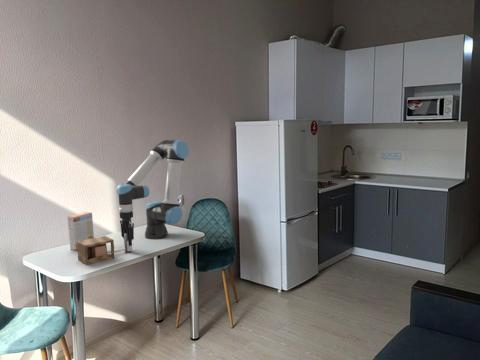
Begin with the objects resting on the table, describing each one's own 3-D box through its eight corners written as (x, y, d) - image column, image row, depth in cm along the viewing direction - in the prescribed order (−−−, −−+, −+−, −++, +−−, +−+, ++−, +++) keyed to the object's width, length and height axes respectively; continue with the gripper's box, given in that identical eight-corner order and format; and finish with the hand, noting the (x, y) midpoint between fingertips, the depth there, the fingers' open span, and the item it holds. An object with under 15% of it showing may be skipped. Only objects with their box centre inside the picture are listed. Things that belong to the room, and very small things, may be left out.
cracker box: (88, 243, 267) (86, 211, 264) (94, 244, 264) (92, 212, 261) (69, 249, 255) (66, 215, 252) (76, 250, 252) (73, 216, 249)
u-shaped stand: (128, 250, 252) (127, 232, 250) (132, 252, 247) (132, 233, 246) (91, 257, 237) (90, 238, 236) (95, 259, 233) (95, 240, 231)
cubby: (106, 253, 245) (104, 235, 244) (114, 258, 237) (113, 239, 235) (78, 260, 235) (76, 241, 233) (86, 264, 226) (84, 245, 225)
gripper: (113, 210, 249) (116, 248, 252) (126, 214, 236) (128, 254, 240) (125, 208, 254) (127, 245, 257) (138, 212, 241) (140, 251, 244)
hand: (128, 249), depth 248 cm, fingers closed on u-shaped stand, 3 cm apart
